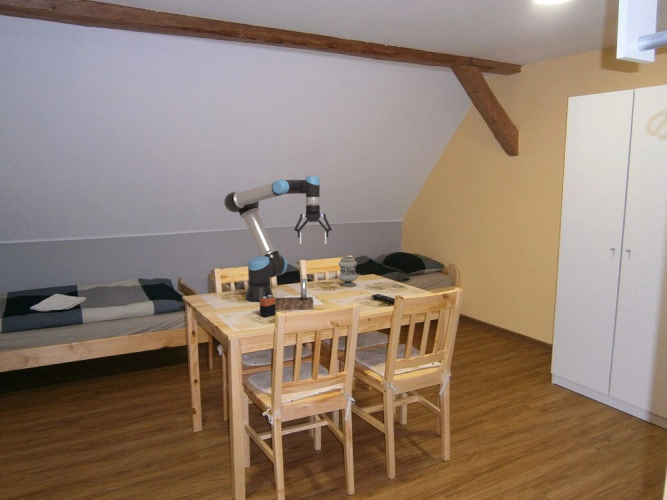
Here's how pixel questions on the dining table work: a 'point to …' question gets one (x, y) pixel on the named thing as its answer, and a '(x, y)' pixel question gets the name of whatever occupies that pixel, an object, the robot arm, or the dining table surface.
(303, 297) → the pin
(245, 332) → the dining table surface
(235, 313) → the dining table surface
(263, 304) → the battery
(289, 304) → the hole block
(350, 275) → the apothecary jar
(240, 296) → the dining table surface
